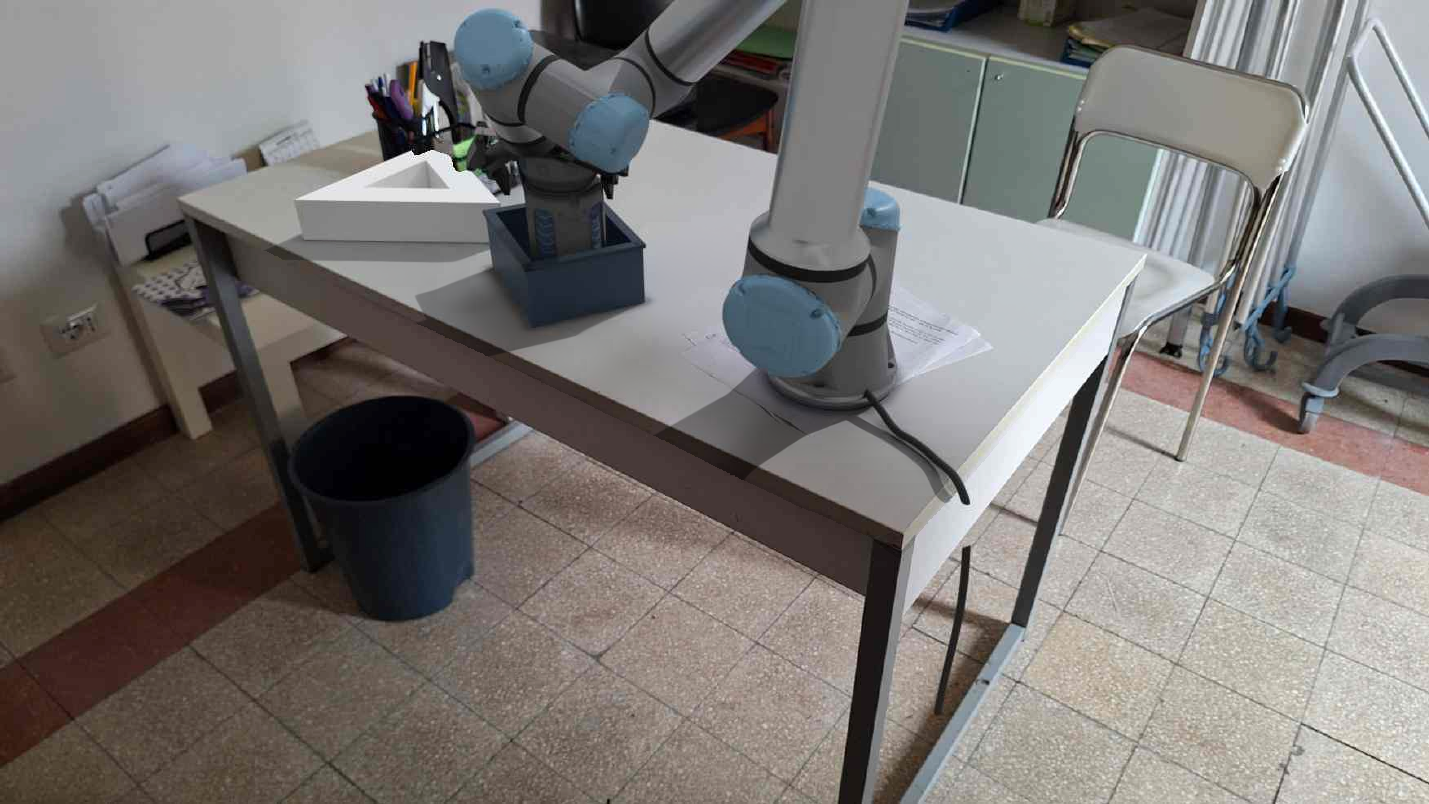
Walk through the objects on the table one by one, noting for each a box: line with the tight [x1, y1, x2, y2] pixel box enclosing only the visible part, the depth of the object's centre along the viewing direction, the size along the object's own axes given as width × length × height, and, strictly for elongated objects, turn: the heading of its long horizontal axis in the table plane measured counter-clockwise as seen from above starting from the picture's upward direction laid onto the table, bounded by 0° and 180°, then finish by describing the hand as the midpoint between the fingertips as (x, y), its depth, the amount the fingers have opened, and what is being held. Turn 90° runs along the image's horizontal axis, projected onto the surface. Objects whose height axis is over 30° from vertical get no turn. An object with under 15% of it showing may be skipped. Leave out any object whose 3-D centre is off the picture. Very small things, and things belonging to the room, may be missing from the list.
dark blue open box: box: [483, 201, 647, 328], centre depth 133 cm, size 19×16×9 cm
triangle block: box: [293, 150, 502, 244], centre depth 150 cm, size 30×26×6 cm
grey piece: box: [515, 151, 607, 262], centre depth 129 cm, size 10×13×25 cm
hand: (559, 187), depth 130 cm, fingers open, 13 cm apart
